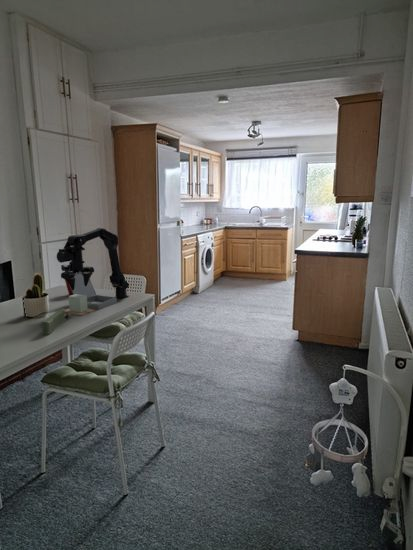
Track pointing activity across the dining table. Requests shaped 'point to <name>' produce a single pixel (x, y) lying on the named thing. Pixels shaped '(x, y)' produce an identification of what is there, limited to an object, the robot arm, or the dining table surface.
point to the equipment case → (91, 293)
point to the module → (78, 303)
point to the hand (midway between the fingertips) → (79, 288)
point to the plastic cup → (68, 288)
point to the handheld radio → (54, 321)
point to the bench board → (79, 312)
